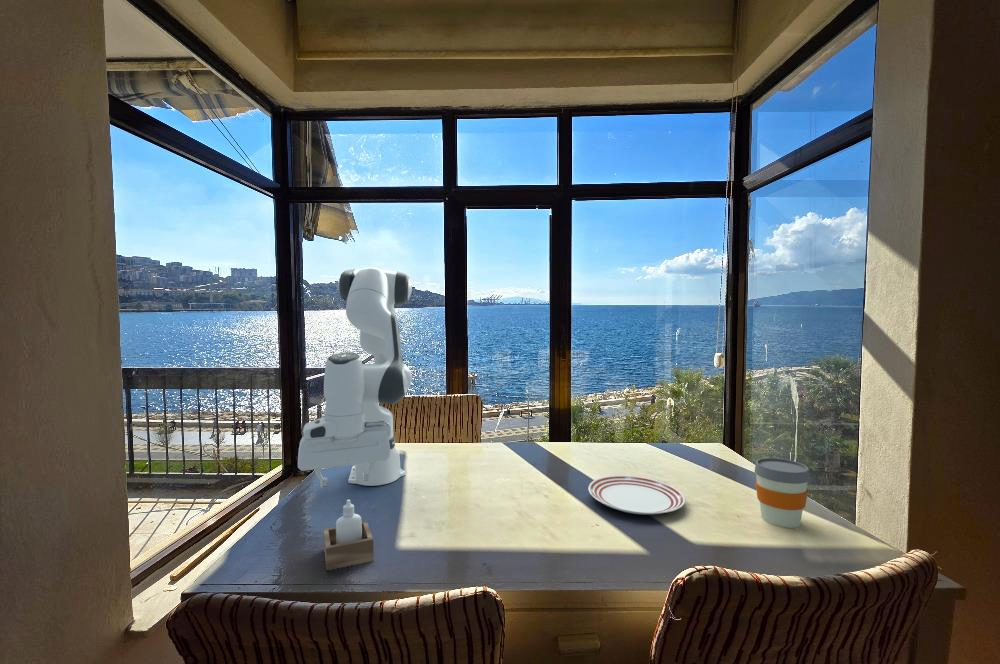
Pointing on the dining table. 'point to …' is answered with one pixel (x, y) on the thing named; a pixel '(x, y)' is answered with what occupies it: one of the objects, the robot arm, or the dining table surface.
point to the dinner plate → (636, 494)
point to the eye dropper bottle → (348, 525)
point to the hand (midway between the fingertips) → (345, 483)
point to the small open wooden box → (347, 549)
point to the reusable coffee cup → (781, 490)
